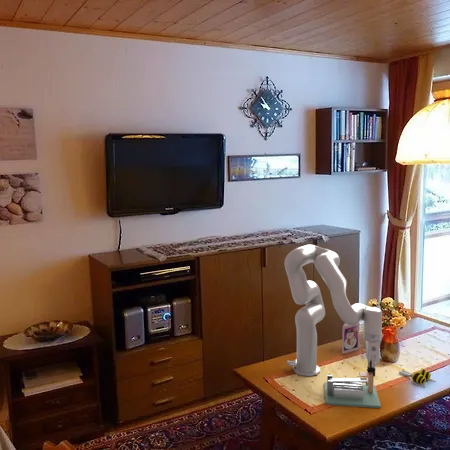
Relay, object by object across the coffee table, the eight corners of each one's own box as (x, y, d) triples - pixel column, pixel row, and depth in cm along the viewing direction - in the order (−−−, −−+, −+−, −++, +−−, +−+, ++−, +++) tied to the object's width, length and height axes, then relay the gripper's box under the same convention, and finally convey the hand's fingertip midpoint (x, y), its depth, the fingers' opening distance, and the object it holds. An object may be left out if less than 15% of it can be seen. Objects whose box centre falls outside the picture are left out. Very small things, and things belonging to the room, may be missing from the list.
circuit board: (325, 404, 209) (325, 402, 209) (324, 384, 227) (324, 382, 226) (380, 408, 206) (380, 405, 205) (374, 387, 223) (374, 385, 223)
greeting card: (343, 354, 259) (343, 326, 256) (333, 349, 265) (334, 322, 263) (360, 350, 264) (360, 322, 262) (350, 345, 270) (351, 318, 268)
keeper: (359, 392, 217) (360, 375, 216) (358, 387, 221) (359, 371, 220) (373, 392, 216) (373, 376, 215) (371, 388, 220) (372, 372, 219)
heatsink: (327, 397, 213) (328, 383, 212) (327, 386, 222) (327, 372, 221) (363, 399, 210) (363, 385, 209) (360, 388, 220) (361, 374, 219)
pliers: (424, 385, 222) (394, 373, 234) (423, 388, 222) (394, 376, 234) (436, 378, 228) (407, 367, 240) (436, 382, 228) (406, 370, 240)
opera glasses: (421, 387, 224) (423, 378, 223) (410, 381, 228) (412, 372, 226) (430, 380, 231) (433, 371, 229) (419, 374, 234) (422, 365, 233)
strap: (329, 385, 215) (328, 380, 215) (328, 382, 218) (328, 377, 218) (367, 385, 213) (367, 380, 212) (366, 382, 216) (366, 377, 215)
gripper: (384, 342, 210) (382, 383, 213) (378, 330, 225) (377, 368, 228) (365, 342, 212) (364, 382, 214) (361, 329, 226) (360, 367, 229)
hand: (371, 375), depth 221 cm, fingers closed
